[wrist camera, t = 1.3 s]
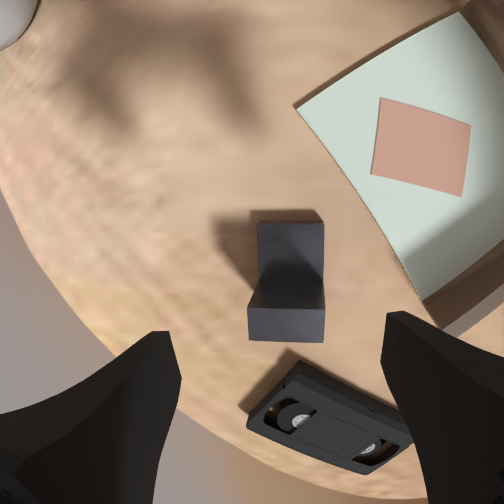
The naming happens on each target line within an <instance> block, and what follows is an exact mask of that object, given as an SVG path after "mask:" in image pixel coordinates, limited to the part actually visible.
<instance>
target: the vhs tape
mask: <svg viewBox="0 0 504 504" xmlns="http://www.w3.org/2000/svg"><path fill="white" fill-rule="evenodd" d="M282 399H284V400H283V401H282V402H281V404H280V406H279V410H278V416H277V423H278V425H279V427H280V428H281V429H282V430H283V431H284V432H286V433H287V434H286V433H284V432H282V431H280V430H278V429H275V428H273V427H271V426H269V424H268V423H266V422H264V421H263V419H264V416H265V413H266V412H267V410H268V409H269V408H270V407H271V406H272V405H274V404H275V403H277V402H278V401H280V400H282ZM246 427H247V429H249V430H251V431H253V432H255V433H257V434H259V435H261V436H264V437H266V438H268V439H270V440H272V441H275V442H277V443H279V444H281V445H284V446H286V447H288V448H291V449H293V450H295V451H298V452H300V453H303V454H305V455H308V456H310V457H313V458H316V459H318V460H321V461H324V462H326V463H329V464H332V465H335V466H337V467H340V468H343V469H346V470H349V471H352V472H355V473H359V474H362V475H368V474H370V473H371V472H373V471H375V470H376V469H378V468H379V467H381V466H382V465H384V464H385V463H387V462H388V461H389V460H391V459H392V458H394V457H395V456H397V455H398V454H399V453H401V452H402V451H404V450H405V449H406V448H408V447H409V446H410V444H412V443H414V441H413V438H412V436H411V433H410V431H409V429H408V427H407V425H406V423H405V420H404V418H403V416H402V414H401V412H399V411H397V410H395V409H393V408H391V407H389V406H387V405H385V404H383V403H381V402H379V401H377V400H375V399H373V398H371V397H369V396H367V395H365V394H363V393H361V392H359V391H357V390H355V389H353V388H351V387H349V386H347V385H345V384H343V383H341V382H339V381H337V380H335V379H334V378H332V377H330V376H328V375H326V374H324V373H322V372H321V371H319V370H317V369H315V368H313V367H311V366H310V365H308V364H306V363H304V362H302V361H300V360H299V361H298V362H297V363H296V365H295V366H294V367H293V368H292V369H291V370H290V371H289V372H288V373H287V375H286V376H285V377H284V378H283V379H282V380H281V381H280V382H279V383H278V384H277V385H276V386H275V388H274V389H273V390H272V391H271V392H270V393H269V394H268V395H267V396H266V397H265V398H264V399H263V400H262V401H261V402H260V403H259V404H258V405H257V406H256V407H255V408H254V409H253V410H252V411H251V412H250V413H249V416H248V420H247V423H246ZM386 441H389V442H392V443H394V445H393V446H392V447H390V448H389V449H388V450H386V451H385V452H384V453H382V454H381V455H379V456H378V457H377V458H375V459H374V460H372V461H371V462H369V463H368V464H362V463H359V462H356V461H354V460H352V459H353V458H355V457H356V456H366V455H370V454H373V453H374V452H376V451H377V450H378V449H379V448H380V447H381V446H382V445H383V444H384V443H385V442H386ZM364 461H365V459H362V460H361V462H364Z"/></svg>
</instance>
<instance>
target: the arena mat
mask: <svg viewBox="0 0 504 504" xmlns="http://www.w3.org/2000/svg"><path fill="white" fill-rule="evenodd" d="M296 110H297V112H298V113H299V114H300V115H301V116H302V118H303V119H304V120H305V121H306V123H307V124H308V125H309V127H310V128H311V129H312V130H313V132H314V133H315V134H316V136H317V137H318V138H319V139H320V141H321V142H322V143H323V145H324V146H325V147H326V149H327V150H328V151H329V153H330V154H331V156H332V157H333V158H334V160H335V161H336V162H337V164H338V165H339V167H340V168H341V169H342V171H343V172H344V174H345V175H346V177H347V178H348V179H349V181H350V182H351V184H352V185H353V187H354V188H355V190H356V191H357V193H358V194H359V196H360V197H361V199H362V200H363V202H364V203H365V205H366V206H367V208H368V209H369V211H370V212H371V214H372V216H373V217H374V219H375V220H376V222H377V223H378V225H379V227H380V228H381V230H382V232H383V233H384V235H385V236H386V238H387V240H388V241H389V243H390V245H391V246H392V248H393V250H394V252H395V253H396V255H397V257H398V258H399V260H400V262H401V264H402V265H403V267H404V269H405V271H406V273H407V274H408V276H409V278H410V280H411V282H412V284H413V285H414V287H415V289H416V291H417V293H418V295H419V297H420V299H421V300H422V301H423V300H424V299H426V298H427V297H429V296H430V295H431V294H433V293H434V292H436V291H437V290H439V289H440V288H441V287H443V286H444V285H446V284H447V283H448V282H450V281H451V280H452V279H454V278H455V277H456V276H458V275H459V274H461V273H462V272H463V271H464V270H466V269H467V268H468V267H470V266H471V265H472V264H474V263H475V262H476V261H477V260H479V259H480V258H481V257H482V256H484V255H485V254H486V253H487V252H489V251H490V250H491V249H492V248H493V247H495V246H496V245H497V244H498V243H499V242H501V241H502V240H503V239H504V73H503V72H502V70H501V68H500V67H499V65H498V64H497V62H496V61H495V59H494V58H493V56H492V55H491V53H490V52H489V50H488V49H487V47H486V46H485V45H484V43H483V42H482V40H481V39H480V38H479V36H478V35H477V34H476V32H475V31H474V30H473V28H472V27H471V26H470V25H469V23H468V22H467V21H466V20H465V18H464V17H463V16H462V15H461V14H460V12H459V11H458V12H456V13H454V14H452V15H450V16H448V17H446V18H444V19H442V20H440V21H438V22H437V23H435V24H433V25H431V26H429V27H427V28H425V29H423V30H422V31H420V32H418V33H416V34H414V35H412V36H411V37H409V38H407V39H405V40H404V41H402V42H400V43H398V44H397V45H395V46H393V47H391V48H390V49H388V50H386V51H385V52H383V53H381V54H380V55H378V56H376V57H375V58H373V59H371V60H370V61H368V62H367V63H365V64H363V65H362V66H360V67H359V68H357V69H355V70H354V71H352V72H351V73H349V74H348V75H346V76H345V77H343V78H341V79H340V80H338V81H337V82H335V83H334V84H332V85H331V86H329V87H328V88H326V89H325V90H323V91H322V92H321V93H319V94H318V95H316V96H315V97H313V98H312V99H310V100H309V101H307V102H306V103H305V104H303V105H302V106H300V107H299V108H298V109H296Z"/></svg>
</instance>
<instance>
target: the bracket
mask: <svg viewBox="0 0 504 504" xmlns="http://www.w3.org/2000/svg"><path fill="white" fill-rule="evenodd" d="M257 236H258V260H259V281H258V284H257V286H256V288H255V291H254V293H253V295H252V297H251V300H250V302H249V304H248V307H247V316H248V332H249V340H253V341H274V342H304V343H323V340H324V325H325V297H324V285H323V268H324V222H323V221H274V222H259V223H258V224H257Z"/></svg>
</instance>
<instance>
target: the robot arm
mask: <svg viewBox="0 0 504 504" xmlns="http://www.w3.org/2000/svg"><path fill="white" fill-rule="evenodd" d="M380 362H381V366H382V369H383V372H384V375H385V378H386V381H387V384H388V387H389V389H390V391H391V393H392V395H393V397H394V399H395V402H396V404H397V406H398V408H399V410H400V412H401V414H402V416H403V418H404V420H405V423H406V425H407V427H408V429H409V431H410V433H411V436H412V438H413V441H414V444H415V447H416V450H417V454H418V457H419V461H420V464H421V468H422V472H423V477H424V481H425V485H426V491H427V496H428V502H429V504H504V357H501V356H498V355H495V354H493V353H490V352H487V351H484V350H482V349H479V348H477V347H475V346H472V345H470V344H468V343H466V342H464V341H462V340H460V339H458V338H456V337H454V336H452V335H450V334H448V333H446V332H444V331H442V330H440V329H438V328H436V327H435V326H433V325H431V324H429V323H427V322H425V321H424V320H422V319H420V318H418V317H416V316H414V315H412V314H410V313H408V312H405V311H397V312H390V313H387V316H386V324H385V332H384V340H383V347H382V354H381V360H380ZM181 379H182V377H181V374H180V370H179V367H178V363H177V360H176V356H175V352H174V349H173V345H172V341H171V337H170V333H169V331H152V332H150V333H149V334H147V335H146V336H144V337H143V338H141V339H140V340H139V341H137V342H136V343H135V344H134V345H132V346H131V347H130V348H128V349H127V350H126V351H124V352H123V353H122V354H120V355H119V356H118V357H117V358H115V359H114V360H113V361H111V362H110V363H108V364H107V365H105V366H104V367H103V368H101V369H100V370H98V371H97V372H95V373H94V374H92V375H91V376H90V377H88V378H86V379H85V380H83V381H82V382H80V383H78V384H76V385H74V386H73V387H71V388H69V389H67V390H65V391H63V392H61V393H59V394H57V395H55V396H52V397H50V398H48V399H46V400H44V401H41V402H39V403H36V404H34V405H31V406H28V407H25V408H22V409H18V410H15V411H11V412H8V413H4V414H0V504H152V502H153V495H154V488H155V481H156V475H157V470H158V464H159V460H160V456H161V453H162V449H163V446H164V443H165V440H166V437H167V434H168V431H169V428H170V425H171V422H172V419H173V415H174V412H175V409H176V406H177V403H178V398H179V392H180V386H181Z"/></svg>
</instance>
